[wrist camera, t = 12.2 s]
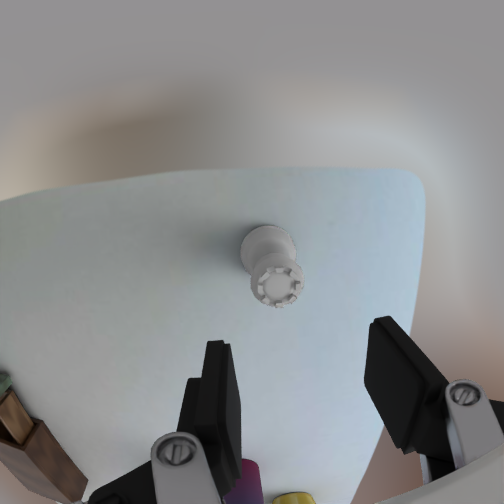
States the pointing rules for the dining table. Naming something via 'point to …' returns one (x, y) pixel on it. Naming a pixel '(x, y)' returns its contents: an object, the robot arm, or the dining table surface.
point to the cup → (247, 486)
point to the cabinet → (44, 466)
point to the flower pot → (294, 499)
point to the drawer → (13, 415)
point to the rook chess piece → (272, 266)
